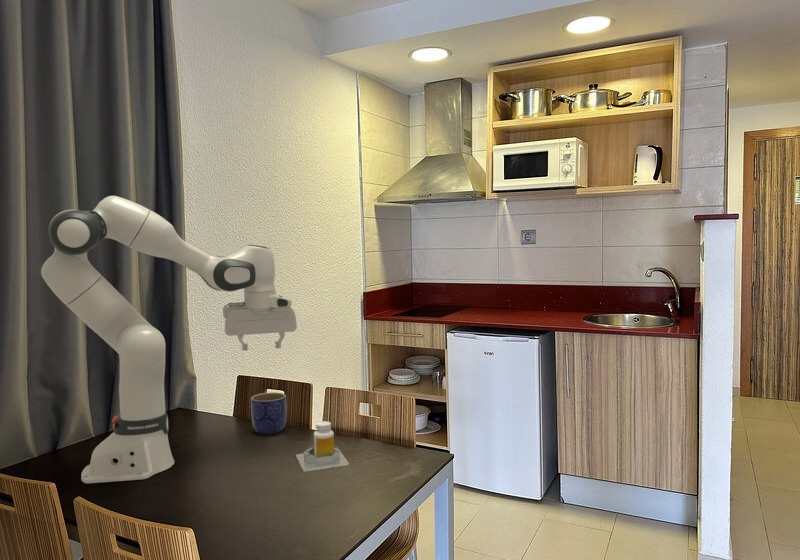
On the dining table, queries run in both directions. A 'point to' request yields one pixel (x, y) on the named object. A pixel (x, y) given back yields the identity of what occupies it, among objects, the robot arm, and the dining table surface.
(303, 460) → the glass ashtray
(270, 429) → the planter
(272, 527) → the dining table surface
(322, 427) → the supplement bottle
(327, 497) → the dining table surface
